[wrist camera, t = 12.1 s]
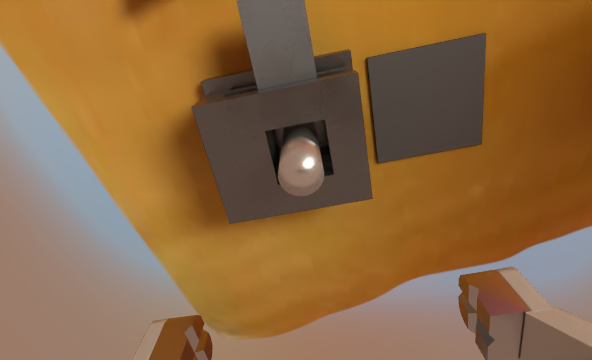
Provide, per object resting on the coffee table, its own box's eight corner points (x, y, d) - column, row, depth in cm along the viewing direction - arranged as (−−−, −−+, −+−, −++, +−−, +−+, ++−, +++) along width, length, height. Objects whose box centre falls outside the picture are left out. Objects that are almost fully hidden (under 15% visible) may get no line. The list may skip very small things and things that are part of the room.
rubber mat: (484, 33, 28) (485, 33, 28) (480, 143, 33) (481, 144, 32) (366, 57, 29) (367, 58, 29) (377, 162, 33) (378, 163, 33)
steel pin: (313, 112, 30) (319, 149, 21) (318, 143, 31) (327, 191, 22) (280, 119, 30) (273, 158, 21) (287, 150, 31) (283, 199, 22)
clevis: (340, -17, 27) (354, -29, 21) (363, 173, 34) (379, 208, 28) (185, 18, 28) (153, 17, 22) (239, 196, 35) (227, 234, 29)
